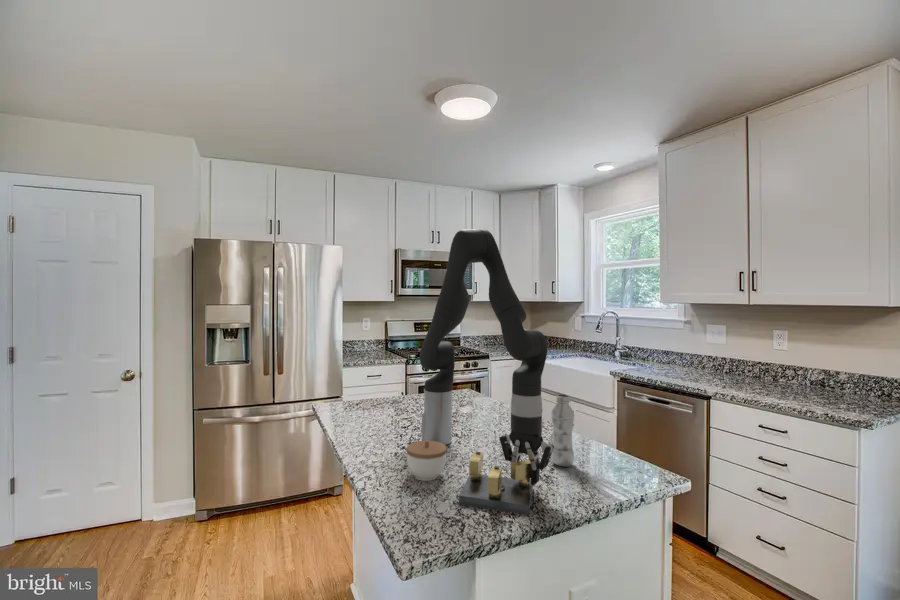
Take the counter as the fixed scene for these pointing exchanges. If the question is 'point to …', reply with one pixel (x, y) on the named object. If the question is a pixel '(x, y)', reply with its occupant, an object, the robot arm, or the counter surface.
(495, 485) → the bar with square hole
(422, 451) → the lidded jar
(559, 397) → the plastic bottle
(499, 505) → the levelling plate
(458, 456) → the counter surface
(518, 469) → the knob
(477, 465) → the knob
